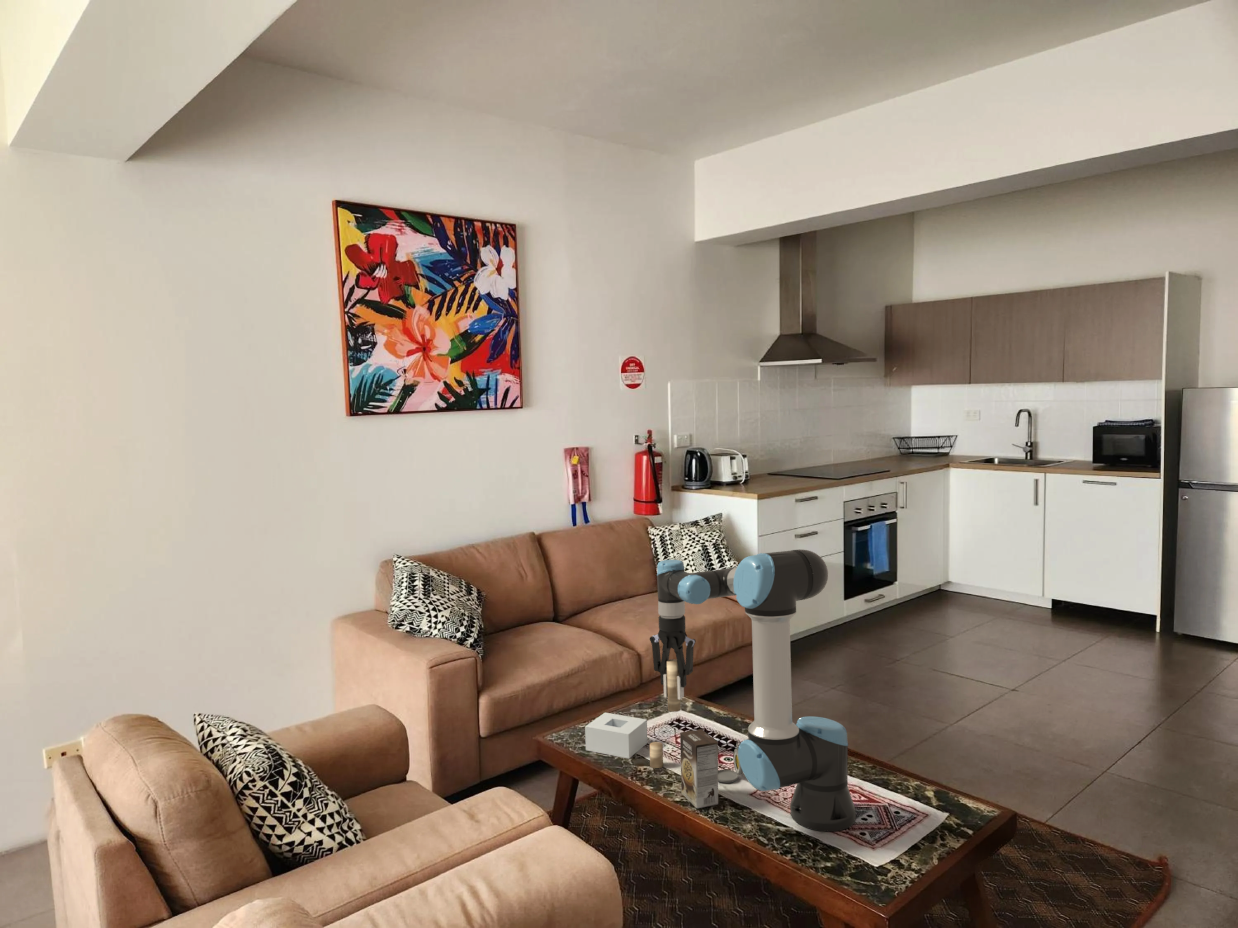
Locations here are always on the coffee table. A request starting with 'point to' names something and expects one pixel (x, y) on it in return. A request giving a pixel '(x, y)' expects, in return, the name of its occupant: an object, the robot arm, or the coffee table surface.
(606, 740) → the hole block
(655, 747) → the short peg
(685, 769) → the coffee box
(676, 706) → the tall peg
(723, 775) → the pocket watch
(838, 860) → the coffee table surface
